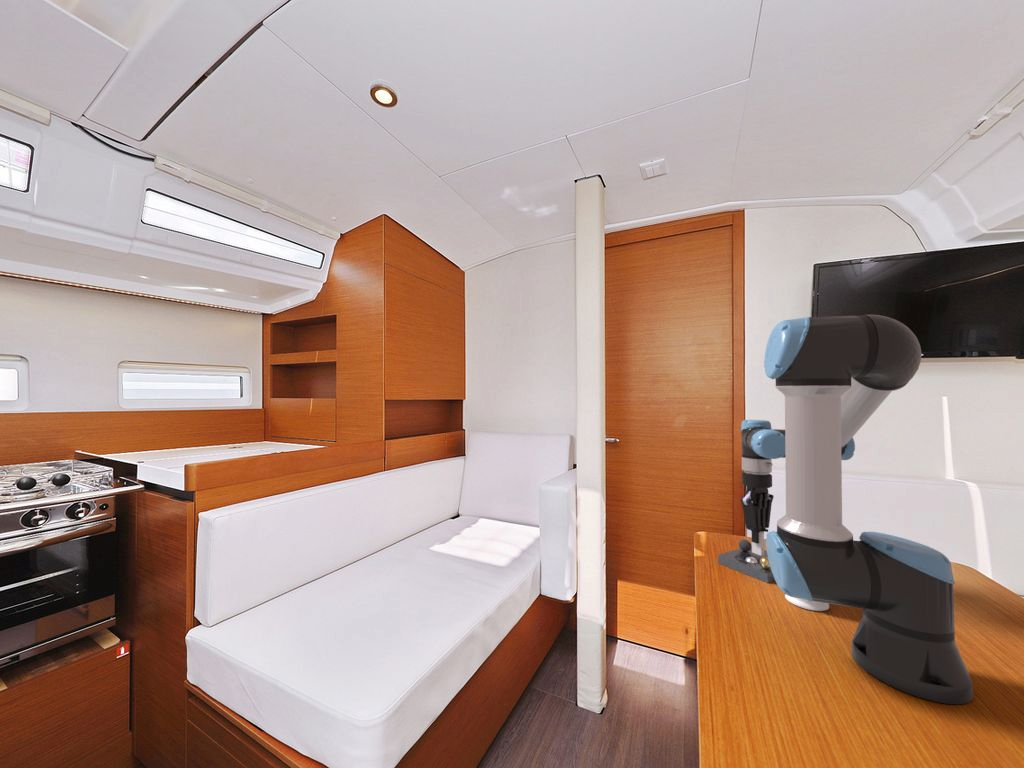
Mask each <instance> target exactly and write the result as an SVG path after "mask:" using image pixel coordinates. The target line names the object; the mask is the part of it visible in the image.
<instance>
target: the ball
mask: <svg viewBox="0 0 1024 768" xmlns="http://www.w3.org/2000/svg"><path fill="white" fill-rule="evenodd" d="M745 561H747V562H749V563H754V564H758V561H757V560H756V559H755V558H753V557H747V558H746V559H745Z"/></svg>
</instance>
